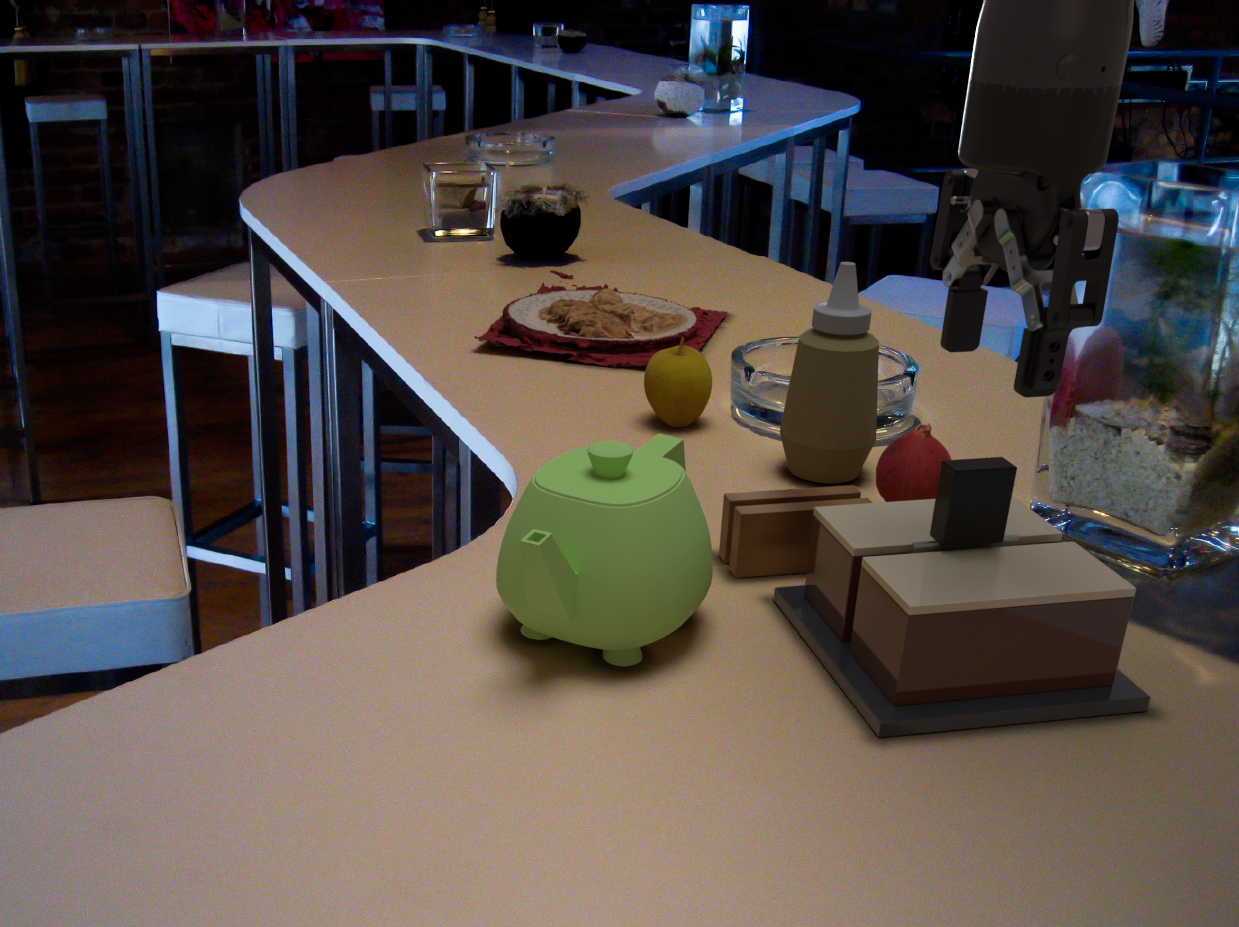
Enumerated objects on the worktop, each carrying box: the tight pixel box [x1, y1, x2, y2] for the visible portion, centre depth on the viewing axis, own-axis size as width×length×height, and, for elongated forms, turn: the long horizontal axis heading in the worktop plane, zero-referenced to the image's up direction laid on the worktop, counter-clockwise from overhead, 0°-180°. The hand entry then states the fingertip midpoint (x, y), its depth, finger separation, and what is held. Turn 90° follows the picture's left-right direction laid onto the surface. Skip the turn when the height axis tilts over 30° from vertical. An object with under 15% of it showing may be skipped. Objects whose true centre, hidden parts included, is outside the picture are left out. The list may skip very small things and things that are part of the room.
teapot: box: [495, 433, 714, 667], centre depth 81 cm, size 20×13×13 cm
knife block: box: [718, 484, 873, 579], centre depth 92 cm, size 10×4×5 cm, turn 100°
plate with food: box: [474, 269, 728, 368], centre depth 146 cm, size 24×26×4 cm
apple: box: [643, 337, 713, 428], centre depth 118 cm, size 6×6×8 cm
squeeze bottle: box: [779, 261, 880, 484], centre depth 105 cm, size 8×8×18 cm
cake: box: [773, 495, 1151, 738], centre depth 79 cm, size 17×17×8 cm
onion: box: [875, 422, 952, 502], centre depth 98 cm, size 6×6×8 cm
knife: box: [910, 456, 1019, 554], centre depth 78 cm, size 7×2×12 cm, turn 100°
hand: (994, 371), depth 73 cm, fingers open, 8 cm apart
